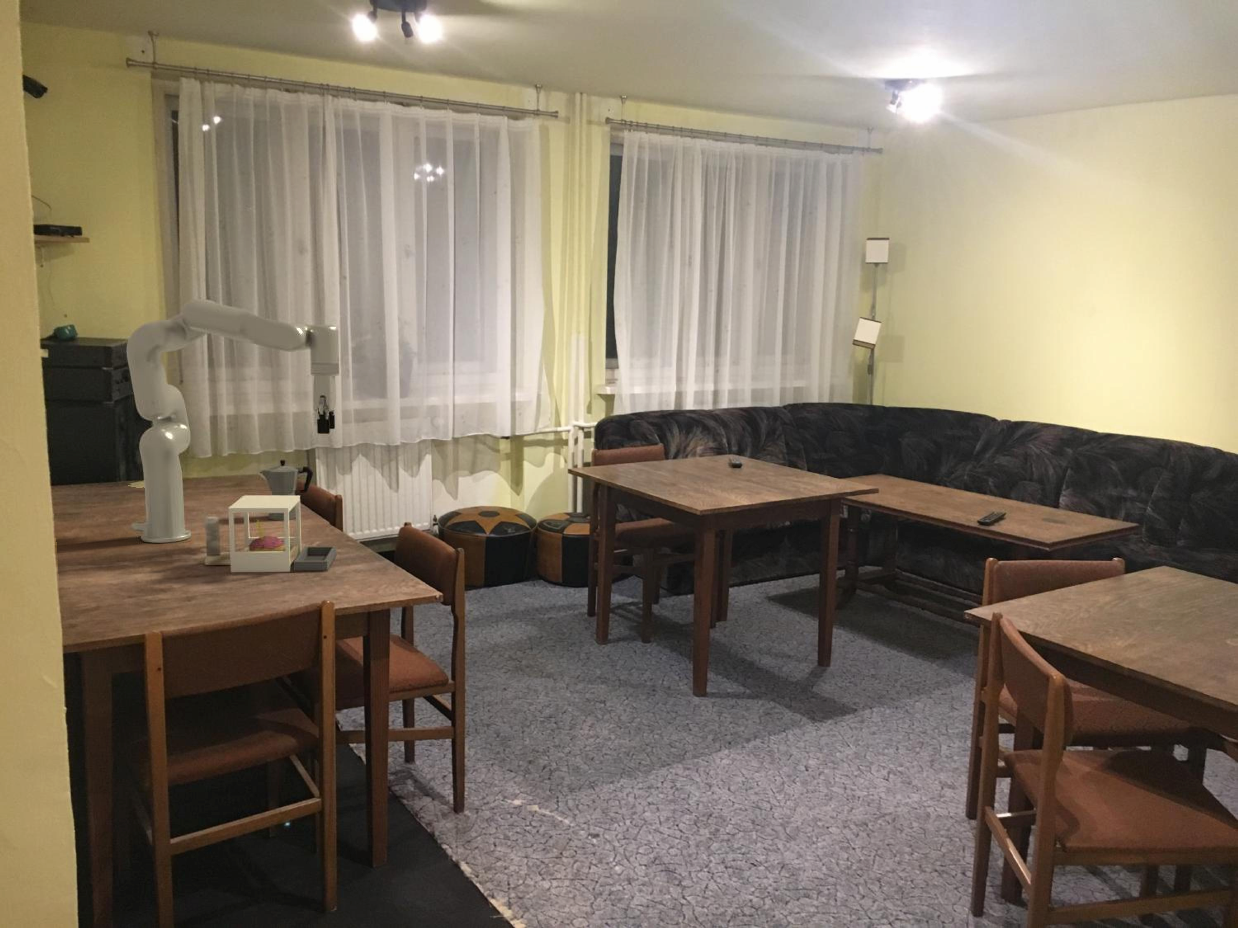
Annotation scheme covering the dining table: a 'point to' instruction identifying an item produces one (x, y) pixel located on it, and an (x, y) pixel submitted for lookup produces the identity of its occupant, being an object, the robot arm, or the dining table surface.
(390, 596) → the dining table surface
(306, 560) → the grey shallow rectangular tray
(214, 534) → the cream frame with post
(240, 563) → the white open frame box
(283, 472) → the coffeepot
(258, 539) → the cupcake
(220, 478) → the dining table surface
